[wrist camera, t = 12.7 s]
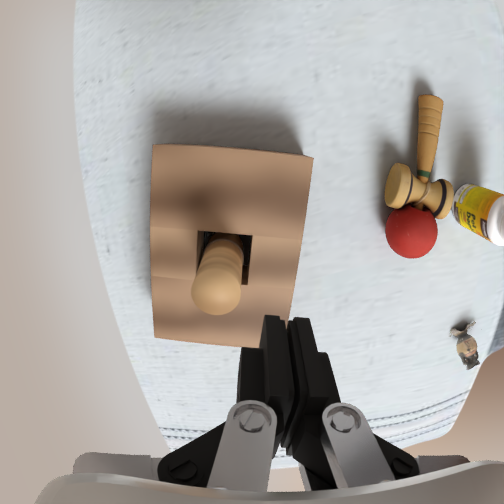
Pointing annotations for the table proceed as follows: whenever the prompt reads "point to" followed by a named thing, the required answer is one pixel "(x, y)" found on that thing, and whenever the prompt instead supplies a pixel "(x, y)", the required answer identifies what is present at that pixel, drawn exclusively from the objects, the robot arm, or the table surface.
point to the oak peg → (219, 275)
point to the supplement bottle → (480, 212)
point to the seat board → (226, 221)
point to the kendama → (418, 190)
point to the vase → (466, 347)
